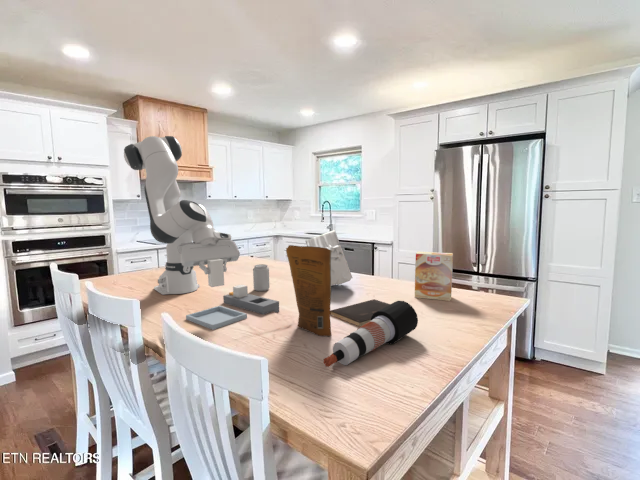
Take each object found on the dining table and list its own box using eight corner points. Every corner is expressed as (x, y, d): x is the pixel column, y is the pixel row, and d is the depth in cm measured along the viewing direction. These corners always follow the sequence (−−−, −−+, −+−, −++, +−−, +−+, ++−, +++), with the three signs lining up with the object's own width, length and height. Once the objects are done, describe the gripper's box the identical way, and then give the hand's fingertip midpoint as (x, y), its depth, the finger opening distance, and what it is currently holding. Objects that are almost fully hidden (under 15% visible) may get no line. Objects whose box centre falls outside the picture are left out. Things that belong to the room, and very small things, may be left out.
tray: (186, 322, 119) (185, 315, 119) (220, 311, 130) (219, 305, 130) (213, 332, 109) (212, 325, 109) (247, 320, 120) (246, 313, 120)
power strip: (223, 305, 139) (222, 286, 138) (239, 300, 145) (238, 282, 144) (263, 317, 124) (263, 295, 123) (279, 311, 130) (278, 291, 129)
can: (266, 292, 158) (265, 266, 157) (251, 291, 160) (250, 266, 158) (271, 288, 165) (271, 263, 164) (257, 287, 167) (256, 263, 166)
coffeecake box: (414, 297, 147) (415, 253, 145) (416, 293, 154) (417, 251, 151) (451, 301, 141) (452, 255, 139) (451, 296, 148) (453, 252, 146)
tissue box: (355, 285, 158) (336, 232, 156) (321, 297, 159) (302, 245, 156) (351, 275, 179) (335, 229, 177) (322, 286, 180) (305, 240, 177)
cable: (322, 384, 87) (307, 346, 88) (398, 334, 109) (385, 304, 111) (347, 381, 79) (330, 339, 81) (423, 328, 102) (408, 296, 103)
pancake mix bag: (324, 341, 102) (323, 249, 99) (285, 325, 116) (284, 243, 113) (339, 335, 106) (339, 247, 103) (301, 320, 120) (299, 242, 117)
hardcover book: (404, 314, 127) (404, 308, 127) (359, 328, 113) (359, 322, 113) (373, 304, 140) (373, 298, 140) (329, 315, 126) (329, 309, 126)
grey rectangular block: (208, 285, 119) (207, 259, 118) (220, 283, 121) (219, 258, 120) (211, 287, 116) (210, 261, 115) (224, 285, 118) (223, 259, 117)
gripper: (177, 238, 116) (186, 270, 110) (234, 234, 128) (245, 263, 121) (175, 249, 121) (183, 281, 114) (230, 244, 132) (241, 273, 125)
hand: (216, 272), depth 118 cm, fingers closed on grey rectangular block, 4 cm apart
